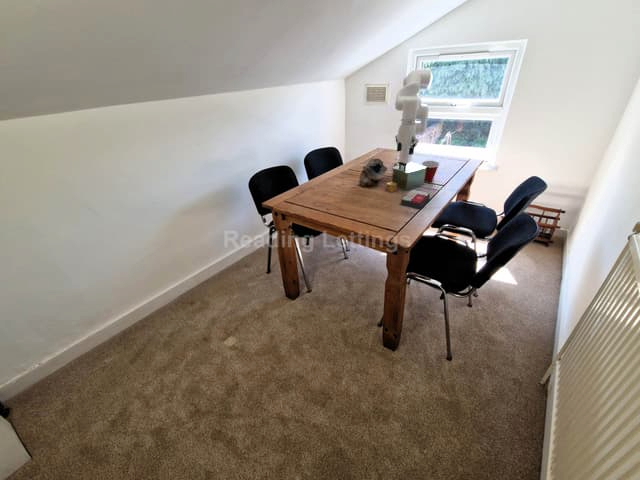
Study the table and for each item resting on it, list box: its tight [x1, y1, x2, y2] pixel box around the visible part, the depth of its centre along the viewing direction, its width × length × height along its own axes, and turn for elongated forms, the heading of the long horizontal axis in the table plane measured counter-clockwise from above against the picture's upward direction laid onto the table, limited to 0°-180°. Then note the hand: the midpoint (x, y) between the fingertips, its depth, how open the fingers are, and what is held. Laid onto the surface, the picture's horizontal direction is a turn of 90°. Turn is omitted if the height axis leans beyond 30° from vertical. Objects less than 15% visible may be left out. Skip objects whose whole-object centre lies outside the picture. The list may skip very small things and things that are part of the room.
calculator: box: [400, 189, 431, 210], centre depth 161 cm, size 11×4×15 cm
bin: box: [391, 169, 426, 191], centre depth 181 cm, size 16×13×11 cm
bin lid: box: [392, 162, 426, 174], centre depth 176 cm, size 16×13×5 cm
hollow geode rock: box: [358, 158, 388, 187], centre depth 191 cm, size 28×13×15 cm
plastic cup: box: [421, 160, 440, 183], centre depth 185 cm, size 11×11×12 cm
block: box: [385, 181, 397, 193], centre depth 177 cm, size 4×4×4 cm
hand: (404, 152), depth 169 cm, fingers open, 9 cm apart
